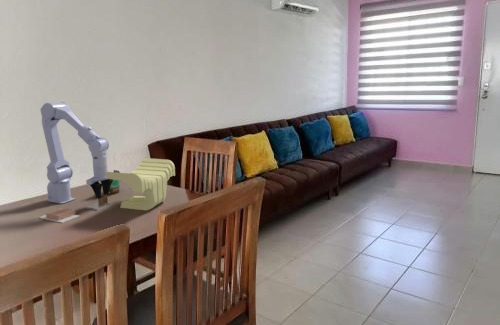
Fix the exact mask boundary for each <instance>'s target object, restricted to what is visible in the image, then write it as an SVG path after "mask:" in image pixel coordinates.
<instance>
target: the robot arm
mask: <svg viewBox="0 0 500 325" xmlns="http://www.w3.org/2000/svg"><path fill="white" fill-rule="evenodd" d="M40 114H41V126H42V129H43V134H44V138H45V139H44V140H45V143H46V147H47V151H48V152H47V153H48V155H49V160H50V161H49V162H48V163H49V164H47V166H46V171H47V173H46V177H47V179H48V181H49V182H48V184H47V187H46V189H47V191H46V192H47V199H46V201H47V202H50V203H56V204H60V205H61V204H64V203H68V202H71V201H75V200H76V197H72V194H71V183H70V181H71V178H72V177H73V174H74V171H73V169H72V167H71V166H70V162H69V161H67V160H66V159H65V157H64V153H63V148H62V147H63V146H62V143H61V140H60V139H61V138H60V136H59V130H58V123H59V122H60V121H61V120H64V121H66V122H67V123H68V124H69V125H70V126H72V127H73V129H75V130H76V132H77V135H78V136H79V138H81V139H82V140H83V142H84V143H85V144H86V145H88V150H89V152H90V154H91V157H92V166H93V167H92V168H93V169H92V170H93V176H92V177H90V178H88V179H86V185H87V186H90V188H91V189H92V191H93V193H94V196H95V198H96V199H97V200H98V199H100V198H101V194H107V197H109V195H108V194H109V190H110V186H111V184H112V182H113V180H112V179H106V172H109V171H108V170H109V169H108V154H107V150H108V149H109V147H110V146H109V141H108V140H107V139H106V138H105V137H101V136H100V135H98V134H97V132H95V131H94V130H93V128H92V127H91V126H89V125H84V124H83V123H82V121H80V119H79V118H78V117H77V116H76V114H74V113H73V112H72V109H71V107H70V106H69V105H68V104H67V103H66V102H65V101H60V102H45V103H44V104H42V106H41V108H40Z"/></svg>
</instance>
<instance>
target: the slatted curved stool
mask: <svg viewBox="0 0 500 325" xmlns="http://www.w3.org/2000/svg"><path fill="white" fill-rule="evenodd" d="M173 176H174V177H175V176H176V167H175V164H174V162H173V161H172V160H170V159H167V158H166V159H162V158H149V157H143V158H142V160H141V162H140V163H139V164H138V166H136V167H135V169H134V170H132V171H131V172H130V173H129V172H127V173H126V172H120V173H116V172H114V171H108V172H106V179H114V180H120V182H123V183H125V184H127V185H129V187H130V188H131V190H132V193H139V194H140V193H141V194H143V193H144V196H143V195H134V196H132V197H130V198H128V199H126V200H124V201H122V202H121V203H120V207H119V208H120V209H128V210H129V209H131V210H140V211H149V210H151V209H153V208H155V207H156V206H158V205H160V204H161V203H162V202H164V201H165V200H166V198H167V187H168V181H169V179H170V177H173Z"/></svg>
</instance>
